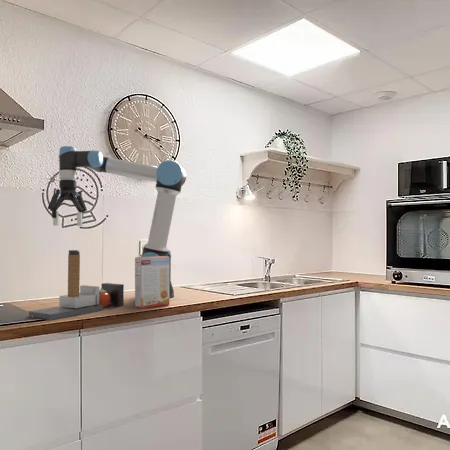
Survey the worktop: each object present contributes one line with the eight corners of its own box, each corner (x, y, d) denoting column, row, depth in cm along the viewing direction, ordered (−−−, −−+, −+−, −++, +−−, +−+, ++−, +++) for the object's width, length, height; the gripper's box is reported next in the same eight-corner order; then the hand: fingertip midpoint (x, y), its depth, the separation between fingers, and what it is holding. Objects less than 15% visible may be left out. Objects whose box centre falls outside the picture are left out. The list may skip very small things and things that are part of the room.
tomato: (111, 305, 185) (111, 286, 185) (109, 308, 178) (110, 288, 178) (93, 305, 184) (93, 286, 184) (91, 308, 177) (91, 289, 177)
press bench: (104, 303, 190) (105, 282, 191) (125, 305, 184) (125, 284, 184) (28, 316, 159) (29, 291, 159) (50, 320, 152) (50, 294, 153)
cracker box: (162, 303, 192) (162, 255, 192) (169, 305, 187) (170, 256, 188) (133, 306, 183) (134, 256, 183) (141, 308, 178) (141, 257, 179)
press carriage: (83, 302, 178) (84, 249, 179) (99, 304, 174) (99, 250, 174) (59, 306, 168) (60, 250, 169) (74, 308, 164) (75, 250, 164)
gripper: (83, 183, 215) (83, 226, 215) (39, 177, 194) (39, 225, 193) (94, 182, 211) (94, 225, 211) (50, 176, 190) (50, 225, 189)
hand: (68, 225), depth 202 cm, fingers open, 13 cm apart
